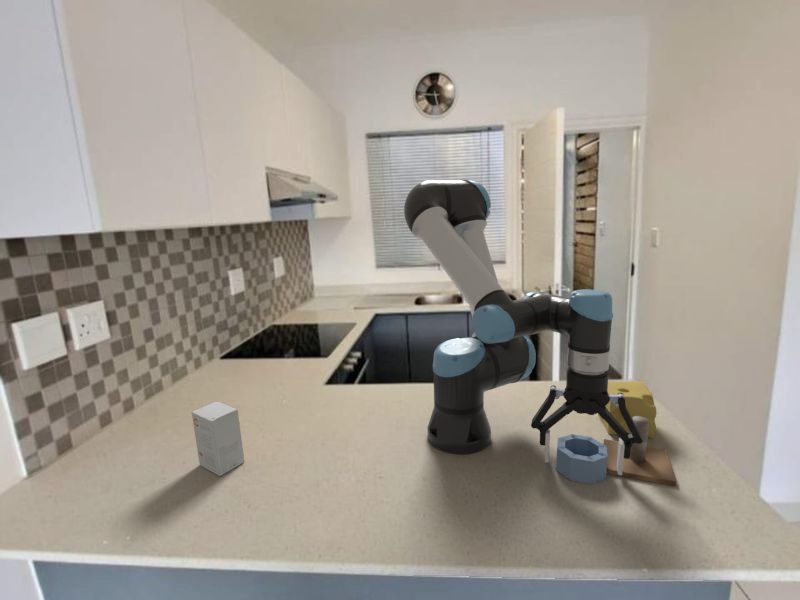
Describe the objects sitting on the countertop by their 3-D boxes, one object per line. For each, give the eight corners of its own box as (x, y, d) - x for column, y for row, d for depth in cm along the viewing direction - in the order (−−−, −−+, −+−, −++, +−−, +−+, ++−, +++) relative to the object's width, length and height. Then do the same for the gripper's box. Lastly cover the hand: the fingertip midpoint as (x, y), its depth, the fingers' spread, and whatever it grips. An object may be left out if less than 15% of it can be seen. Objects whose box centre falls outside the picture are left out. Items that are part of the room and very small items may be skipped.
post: (606, 473, 86) (610, 428, 84) (603, 442, 97) (606, 402, 95) (675, 486, 82) (681, 439, 79) (664, 452, 92) (668, 410, 90)
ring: (555, 477, 86) (556, 455, 84) (557, 452, 94) (558, 431, 93) (606, 487, 82) (608, 464, 81) (603, 460, 90) (605, 439, 89)
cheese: (655, 438, 98) (659, 399, 96) (605, 435, 100) (608, 396, 98) (640, 417, 108) (643, 380, 106) (595, 414, 110) (597, 378, 108)
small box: (245, 462, 95) (238, 408, 92) (219, 477, 90) (211, 421, 87) (224, 451, 99) (217, 400, 96) (198, 465, 94) (190, 411, 91)
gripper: (519, 368, 84) (517, 463, 89) (665, 382, 75) (655, 488, 79) (523, 356, 91) (521, 445, 95) (657, 368, 82) (648, 465, 86)
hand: (582, 465), depth 87 cm, fingers open, 13 cm apart
